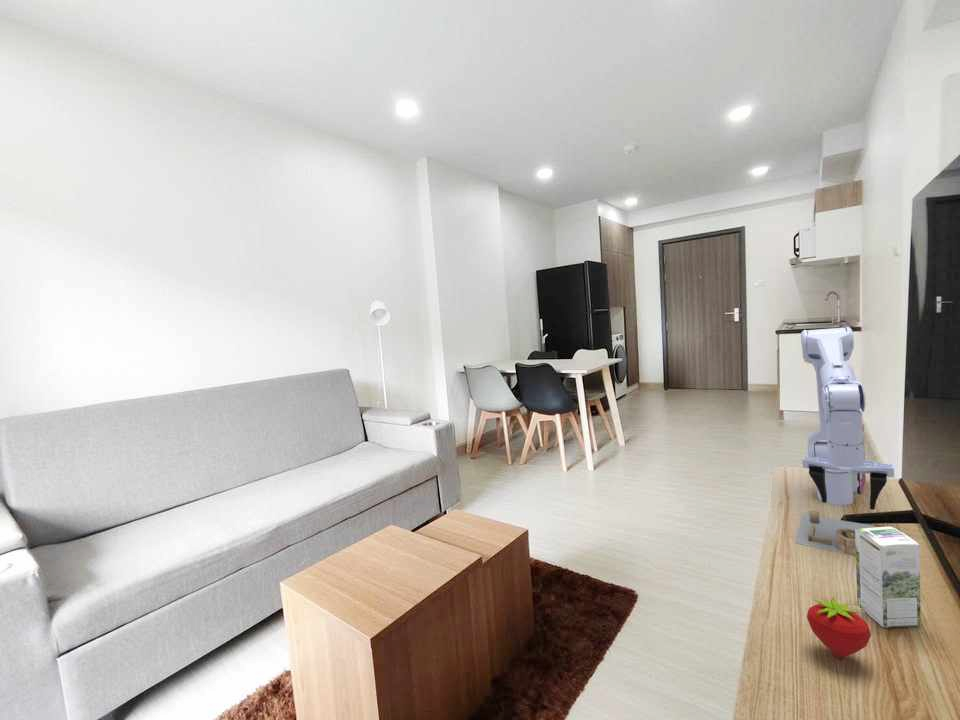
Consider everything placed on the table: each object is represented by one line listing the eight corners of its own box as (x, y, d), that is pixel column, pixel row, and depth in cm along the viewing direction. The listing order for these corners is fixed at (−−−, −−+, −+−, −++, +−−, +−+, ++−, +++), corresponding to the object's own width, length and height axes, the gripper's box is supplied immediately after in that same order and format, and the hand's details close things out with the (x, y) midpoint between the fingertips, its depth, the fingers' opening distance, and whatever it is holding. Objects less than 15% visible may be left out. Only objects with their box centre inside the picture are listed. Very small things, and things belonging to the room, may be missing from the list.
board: (803, 517, 107) (802, 505, 107) (875, 529, 99) (874, 516, 98) (795, 546, 96) (794, 533, 96) (875, 562, 87) (875, 548, 87)
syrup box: (892, 603, 76) (889, 524, 75) (923, 628, 71) (920, 542, 69) (856, 605, 77) (852, 526, 76) (884, 630, 71) (880, 544, 70)
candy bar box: (861, 496, 113) (859, 434, 112) (836, 492, 117) (833, 432, 115) (867, 481, 121) (864, 422, 119) (843, 478, 124) (840, 421, 123)
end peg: (847, 545, 93) (846, 529, 92) (858, 547, 92) (857, 531, 91) (846, 549, 91) (846, 533, 91) (858, 551, 90) (857, 535, 90)
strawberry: (871, 682, 63) (868, 616, 62) (805, 658, 68) (802, 597, 67) (873, 655, 67) (870, 593, 66) (811, 635, 72) (808, 577, 71)
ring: (837, 540, 95) (836, 526, 95) (869, 545, 92) (868, 532, 91) (836, 551, 91) (835, 537, 91) (868, 558, 88) (868, 543, 88)
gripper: (799, 444, 93) (803, 505, 95) (893, 451, 83) (896, 519, 85) (803, 434, 98) (806, 492, 100) (892, 440, 89) (894, 504, 90)
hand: (847, 504), depth 93 cm, fingers open, 7 cm apart
